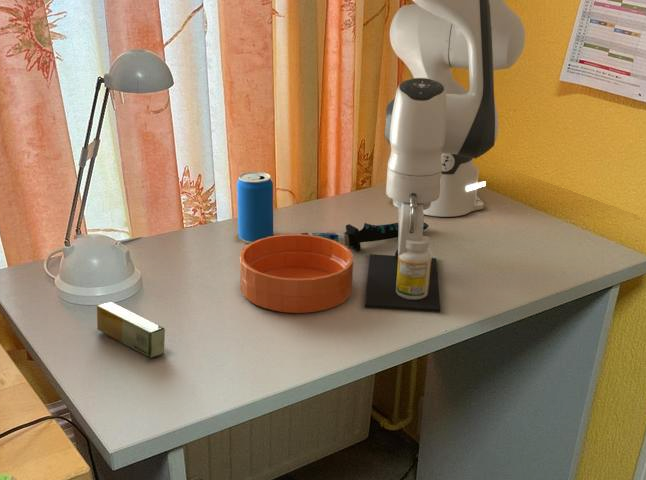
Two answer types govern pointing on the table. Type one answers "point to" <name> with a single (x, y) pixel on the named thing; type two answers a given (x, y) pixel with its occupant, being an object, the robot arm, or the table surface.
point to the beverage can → (255, 206)
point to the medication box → (131, 329)
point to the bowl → (296, 273)
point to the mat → (384, 287)
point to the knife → (363, 234)
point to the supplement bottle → (414, 270)
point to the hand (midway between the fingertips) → (406, 262)
